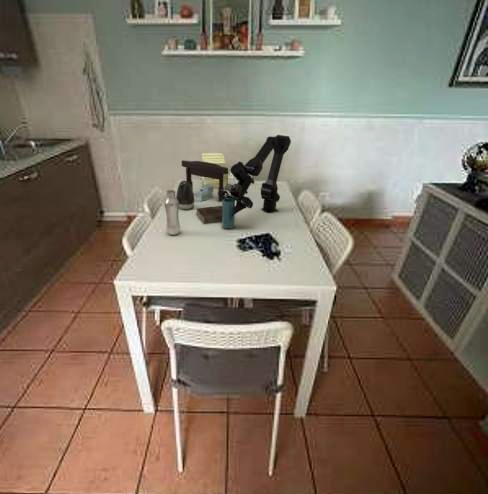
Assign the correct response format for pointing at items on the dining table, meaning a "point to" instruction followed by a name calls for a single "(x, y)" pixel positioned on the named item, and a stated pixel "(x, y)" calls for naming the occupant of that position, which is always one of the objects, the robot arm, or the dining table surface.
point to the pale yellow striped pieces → (219, 160)
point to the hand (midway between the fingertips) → (226, 213)
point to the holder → (210, 214)
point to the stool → (205, 171)
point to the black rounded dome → (185, 195)
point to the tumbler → (228, 213)
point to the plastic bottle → (172, 213)
